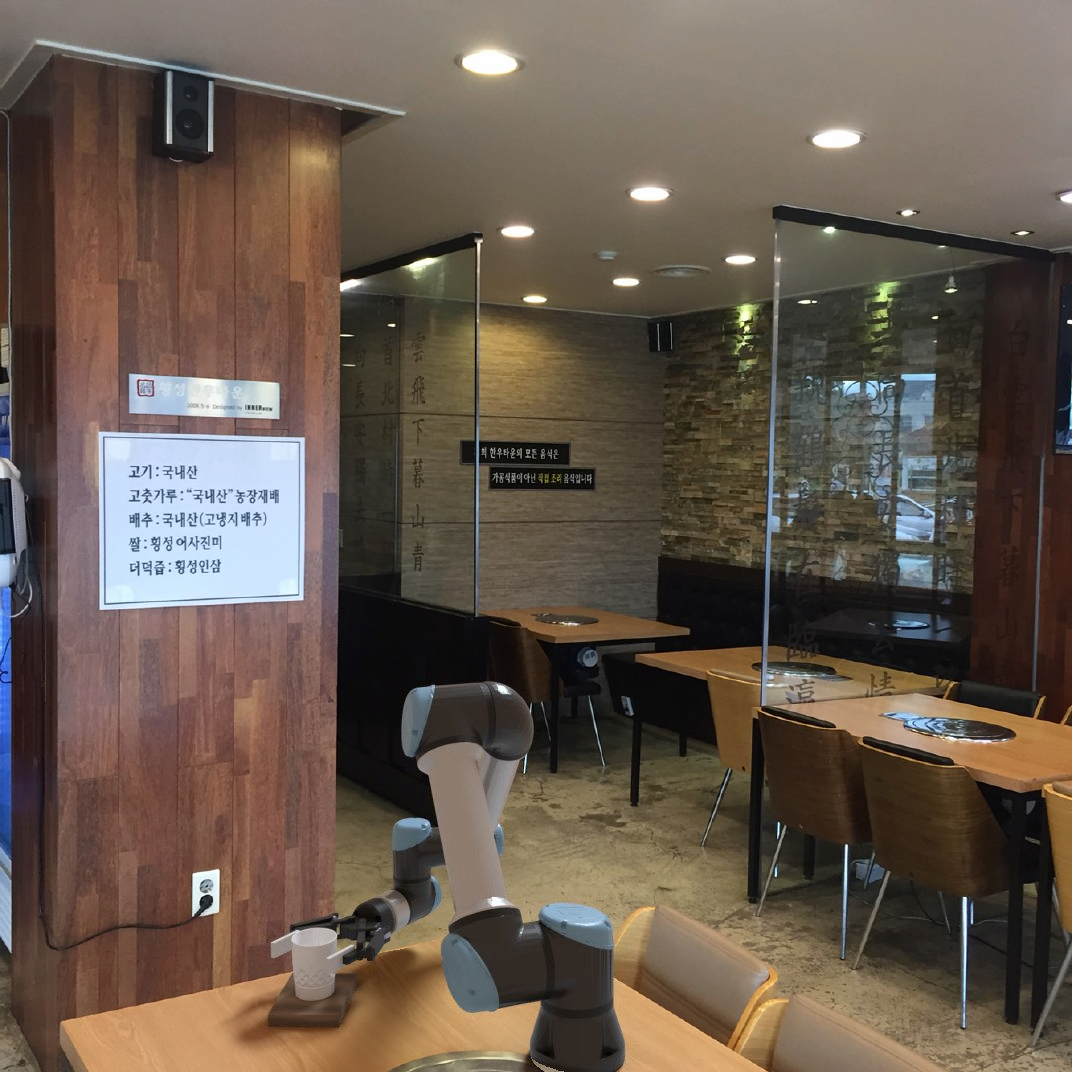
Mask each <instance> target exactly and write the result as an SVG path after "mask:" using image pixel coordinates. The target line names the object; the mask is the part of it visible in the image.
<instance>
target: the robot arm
mask: <svg viewBox="0 0 1072 1072" xmlns="http://www.w3.org/2000/svg"><path fill="white" fill-rule="evenodd" d="M401 717H402V718H401V746H402V750H403V753H404V755H405V756H406V757H410V758H414V757H415V759H416V764H417V768H418V770H419V771H421V772H422V773H424V774H426V775H428V778H429V784H430V788H431V789H430V790H431V795H432V799H433V805H434V809H435V815H436V820H437V827H432V826H431V823H430V821H429V820H428V819H425V818H421V817H415V818H414V817H407V818H402V819H400V820H398V821H396V822H395V823H394V825H393V827H392V834H391V836H392V837H391V838H392V839H391V842H392V843H391V850H392V857H391V858H392V888H390V889H388V890H387V891H386V890H385V891H384V892H383V893H380V894H377V895H376V896H373V897H372V898H370V899H368V900H366V901H363V902H362V903H360V904H358V905H357V906H356V908H355V909H354V911H353V912H352V914H351V915H347V916H345V917H339V916H340V915H339V913H338V912H332V913H330V914H328V915H326V916H321V917H317V918H314V919H309V920H305V921H301V922H300V921H299V922H295V923H293V924H290V925H289V933H287V934H286V935H283V936H281V937H279V938H278V939H274V940H273V941H271V942H270V957H271V959H276V958H278V957H280V956H282V955H284V954H286V953H288V952H290V951H292V945H291V938H292V936H293V935H294V934H295V933H297V932H299V931H302V930H305V929H310V928H327V929H331V930H333V931H335V932H336V933H337V941H338V940H339V941H340V940H344V939H347V940H350V941H352V942H355V941H356V942H355V944H350V945H348V946H346V947H344V948H342V949H340V950H339V951H337V952H336V953H335V954H333V955H331V956H329V957H327V958H326V974H328V975H330V974H332V973H334V972H335V971H336V972H337V971H340V969H343V968H345V967H346V966H349V965H351V964H353V963H355V962H357V961H363V960H364V959H365V960H366V962H369V963H371V962H373V961H374V960H375V959H376V958H377V956H378V954H379V953H380V952H381V950H383V949H382V948H383V947H384V945H386V944H388V943H389V942H390V941H391V935H393V933H396V932H398V931H400V930H401V929H402V928H405V927H407V926H409V925H411V924H413V923H414V922H416V921H419V920H420V919H423V918H425V917H427V916H428V915H430V914H431V913H432V912H434V911H435V910H436V909H437V908H438V907H440V905H441V902H442V901H443V900H442V899H443V890H442V888H441V886H440V883H439V880H437V878H436V877H434V876H433V875H432V868H436V867H437V868H439V867H446V873H447V878H448V883H449V888H450V892H451V893H450V894H451V898H452V903H453V909H454V912H455V913H454V915H453V917H452V918H451V920H450V922H449V924H448V925H447V927H448V934H447V935H446V936H444V937H443V939H442V941H441V942H440V943H441V945H440V955H441V959H442V960H441V965H442V967H441V968H442V972H443V975H444V978H445V982H446V986H447V988H448V991H449V993H450V995H451V997H452V999H453V1000H454V1002H455V1003H456V1004H457V1006H458V1007H459V1008H460V1009H461V1010H462V1011H464V1012H466V1013H469V1014H474V1013H475V1014H476V1013H483V1012H490V1013H492V1012H496V1011H498V1010H499V1009H505V1008H510V1007H515V1006H520V1005H525V1004H532V1003H537V1002H540V1004H539V1005H540V1007H539V1011H538V1014H537V1017H536V1020H535V1023H534V1026H533V1030H532V1033H531V1036H530V1041H529V1056H531V1057H532V1059H533V1060H535V1061H536V1062H538V1063H539V1064H542V1065H545V1066H546V1067H550V1068H553V1069H556V1070H558V1071H564V1072H615V1071H617V1070H618V1069H619V1068H620V1067H621V1066H622V1065H623V1063H624V1061H625V1060H626V1041H625V1037H624V1033H623V1030H622V1028H621V1025H620V1022H619V1019H618V1016H617V1012H616V1009H615V1005H614V998H615V997H614V995H615V994H614V991H615V990H614V988H615V987H614V986H615V985H614V983H615V982H614V975H615V973H614V972H615V971H614V965H615V964H614V960H615V958H614V953H615V952H614V951H615V950H614V949H615V942H614V935H613V934H614V933H613V924H612V922H611V919H610V918H609V916H607V915H606V914H605V913H604V912H602V911H600V910H599V909H596V908H594V907H591V906H587V905H584V904H579V903H574V902H573V903H572V902H571V903H570V902H555V903H549V904H546V905H545V906H543V907H541V909H540V910H539V913H538V916H537V917H538V920H534V921H528V922H524V920H523V918H522V917H523V916H522V913H521V909H520V907H519V906H517V905H515V904H514V903H512V902H511V901H509V898H508V894H507V890H506V885H505V881H504V875H503V871H502V866H501V861H500V857H501V855H502V854H503V852H504V846H505V845H504V844H505V837H504V831H503V828H502V825H501V823H500V820H501V818H502V815H503V811H504V808H505V805H506V802H507V800H508V796H509V793H510V790H511V789H512V786H513V785H512V784H513V782H514V779H515V775H516V773H517V770H518V767H519V763H520V760H522V759H524V758H525V757H526V756H527V754H528V753H529V751H530V749H531V746H532V743H533V740H534V739H533V738H534V730H535V729H534V728H535V727H534V720H533V716H532V712H531V711H530V708H529V706H528V705H527V703H526V701H525V700H524V698H523V697H522V696H520V694H519V693H518V692H517V691H516V690H514V689H513V688H511V687H510V686H508V685H506V684H503V683H501V682H496V681H482V682H469V683H457V684H446V685H445V684H442V685H441V684H440V685H435V684H431V685H429V686H423V687H416V688H413V689H412V690H410V691H409V692H408V694H407V696H406V698H405V701H404V704H403V709H402V716H401ZM338 930H339V933H338ZM367 943H368V944H367Z"/></svg>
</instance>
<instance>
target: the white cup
mask: <svg viewBox="0 0 1072 1072" xmlns="http://www.w3.org/2000/svg"><path fill="white" fill-rule="evenodd" d="M337 935H338V932H337V933H336V932H335V931H333V930H331V929H327V928H310V929H305V930H302V931H299V932H297V933H295V934H294V935H293V936H292V938H291V945H292V950H291V959H292V961H291V962H292V973H293V974H294V980H295V992H296V996H297V997H298V998H299V999H301V1000H306V1001H317V1000H322V999H325V998H327V997H329V996H331V995H332V994H333V992H334V984H335V974H336V972H337V971H335V972H334V973H332V974H330V975H328V974H326V958H327V957H329V956H331V955H333V954H335V953H336V952H338V951H337V949H338V948H337V947H338V940H337Z"/></svg>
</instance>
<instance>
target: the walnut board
mask: <svg viewBox="0 0 1072 1072" xmlns="http://www.w3.org/2000/svg"><path fill="white" fill-rule="evenodd" d="M358 978H359V977H358V972H356V973H355V972H353V973H352V972H350V973H349V972H343V973H341V972H337V973H336V974H335V984H334V992H333V994H332V995H331V996H329V997H327V998H325V999H322V1000H317V1001H306V1000H301V999H299V998H298V997H297V996H296V992H295V980H294V974H293V972H292V973H291V974H290V976H289V978H288V980H287V981H286V983H285V985H284V987H283V989H281V991H280V994H279V995H278V997H277V999H276V1000H275V1002H274V1003H273V1006H272V1007H271V1009H270V1011H269V1012H268V1013H267V1018H268V1019H267V1021H268V1022H267V1024H268V1027H329V1028H330V1027H335V1028H336V1027H338V1028H339V1027H341V1026H340V1025H341V1023H342V1021H343V1019H344V1016H345V1014H346V1012H347V1010H348V1007H349V1005H350V1003H351V1000H352V998H353V996H352V995H354V994H353V993H355V991H356V989H355V988H357V987H356V986H358V984H357V983H358V982H359V981H358Z"/></svg>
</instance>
